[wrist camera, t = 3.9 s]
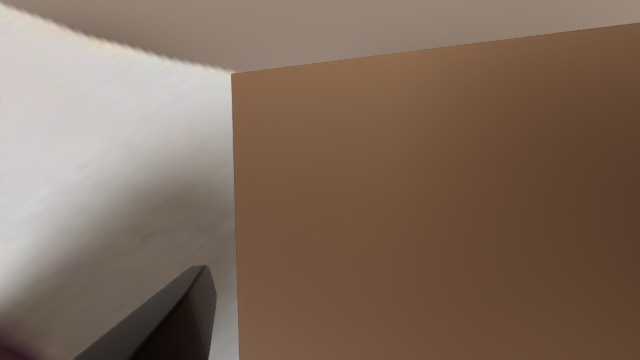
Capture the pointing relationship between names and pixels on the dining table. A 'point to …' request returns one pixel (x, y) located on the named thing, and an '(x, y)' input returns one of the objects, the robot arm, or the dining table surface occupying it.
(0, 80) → the dining table surface
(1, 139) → the dining table surface
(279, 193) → the walnut post
